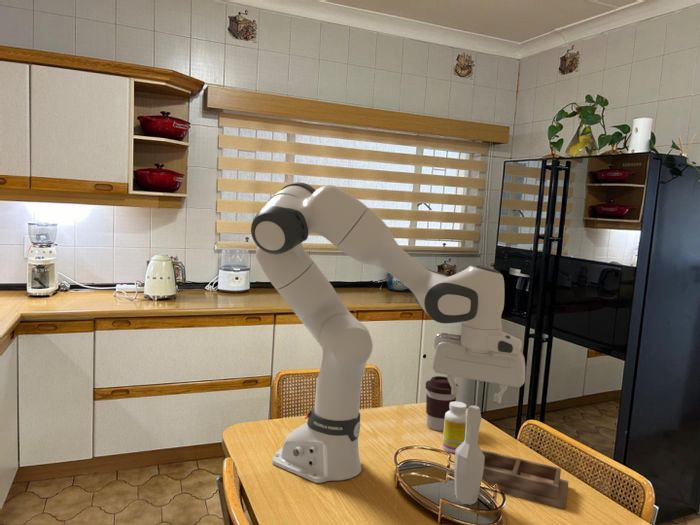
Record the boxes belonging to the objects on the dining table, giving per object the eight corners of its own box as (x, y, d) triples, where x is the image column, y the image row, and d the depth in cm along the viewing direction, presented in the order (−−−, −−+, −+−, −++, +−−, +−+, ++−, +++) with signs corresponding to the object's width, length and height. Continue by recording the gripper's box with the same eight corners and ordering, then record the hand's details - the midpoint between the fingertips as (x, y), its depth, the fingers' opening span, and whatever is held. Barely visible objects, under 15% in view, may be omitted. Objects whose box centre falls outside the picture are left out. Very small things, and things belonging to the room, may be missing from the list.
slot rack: (460, 481, 135) (462, 464, 134) (471, 462, 146) (472, 446, 145) (565, 509, 125) (567, 490, 125) (567, 486, 136) (569, 469, 136)
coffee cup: (417, 421, 172) (420, 374, 170) (445, 419, 175) (449, 373, 173) (430, 434, 162) (435, 385, 161) (460, 432, 166) (465, 384, 164)
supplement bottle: (466, 455, 150) (470, 410, 148) (441, 452, 151) (445, 406, 150) (466, 445, 156) (470, 401, 155) (442, 442, 158) (446, 398, 156)
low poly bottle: (446, 494, 128) (454, 403, 126) (469, 491, 130) (478, 401, 128) (461, 509, 122) (470, 413, 120) (485, 505, 125) (494, 411, 122)
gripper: (431, 334, 124) (427, 393, 125) (525, 348, 116) (520, 411, 117) (438, 329, 130) (434, 386, 131) (529, 342, 121) (523, 402, 123)
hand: (475, 398), depth 124 cm, fingers open, 8 cm apart
